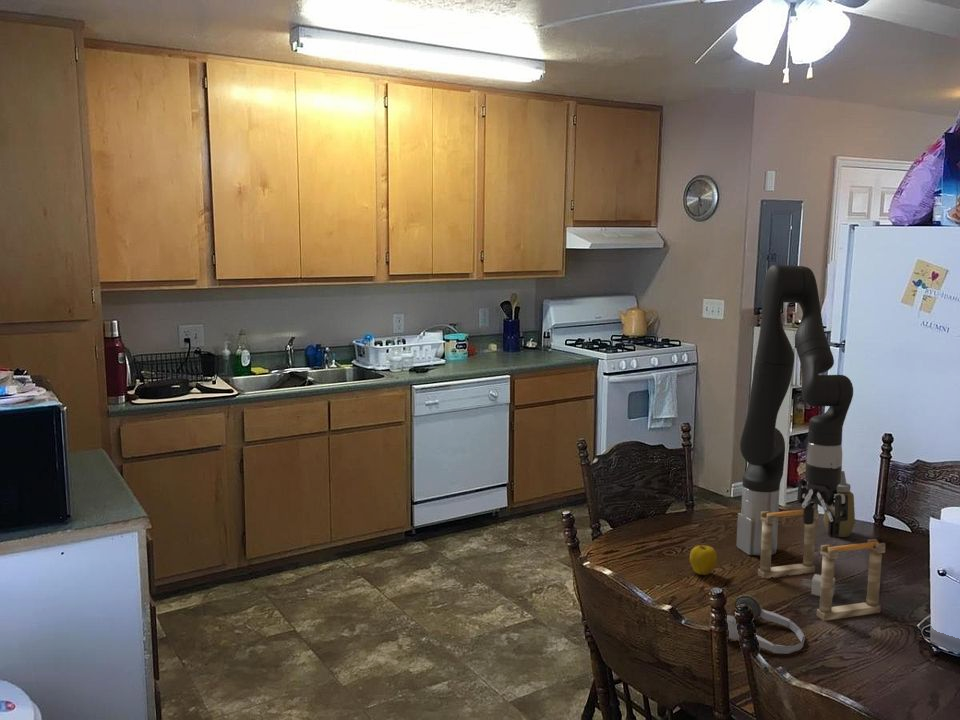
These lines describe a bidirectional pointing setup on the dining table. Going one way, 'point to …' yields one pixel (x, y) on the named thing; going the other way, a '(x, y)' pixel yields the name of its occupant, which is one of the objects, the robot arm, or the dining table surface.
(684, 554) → the dining table surface
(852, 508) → the squeeze bottle
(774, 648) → the headphones
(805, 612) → the dining table surface
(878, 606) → the wooden parallette bars
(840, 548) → the orange rod
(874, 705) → the dining table surface
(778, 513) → the orange wooden rod
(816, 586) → the usb wall charger
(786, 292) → the robot arm
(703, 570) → the apple
